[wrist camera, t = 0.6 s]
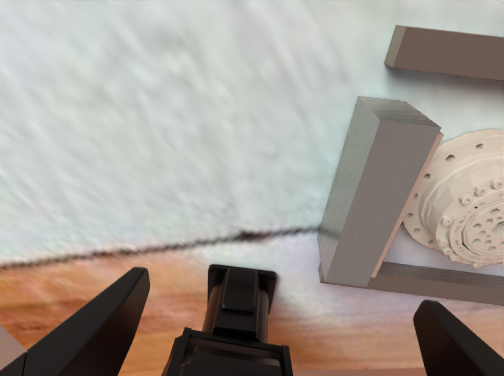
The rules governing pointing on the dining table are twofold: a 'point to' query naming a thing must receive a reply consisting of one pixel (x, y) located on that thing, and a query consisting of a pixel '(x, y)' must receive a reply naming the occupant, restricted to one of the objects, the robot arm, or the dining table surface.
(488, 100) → the dining table surface
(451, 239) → the mechanical component
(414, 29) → the vise
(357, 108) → the block
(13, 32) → the dining table surface
